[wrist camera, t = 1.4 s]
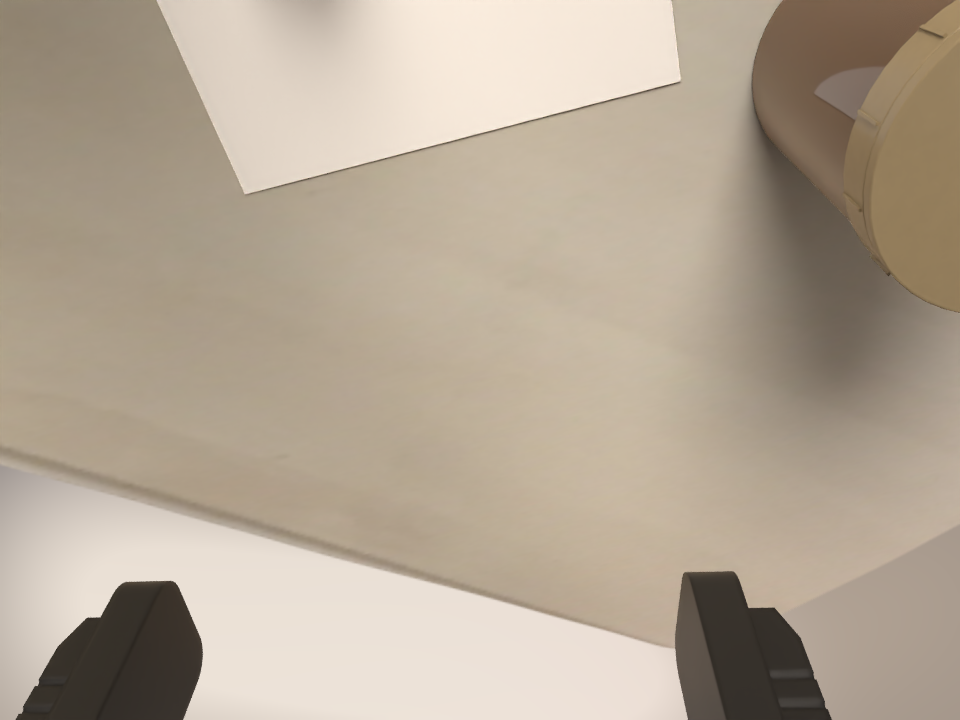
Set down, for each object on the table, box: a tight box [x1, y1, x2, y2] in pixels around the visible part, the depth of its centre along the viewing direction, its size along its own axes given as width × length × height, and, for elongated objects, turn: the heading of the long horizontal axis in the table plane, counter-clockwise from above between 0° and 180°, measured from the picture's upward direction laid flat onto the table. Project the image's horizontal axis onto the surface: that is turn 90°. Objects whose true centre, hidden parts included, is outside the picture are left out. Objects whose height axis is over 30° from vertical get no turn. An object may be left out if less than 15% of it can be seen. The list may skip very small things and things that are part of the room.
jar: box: [752, 0, 956, 222], centre depth 25 cm, size 9×9×12 cm
